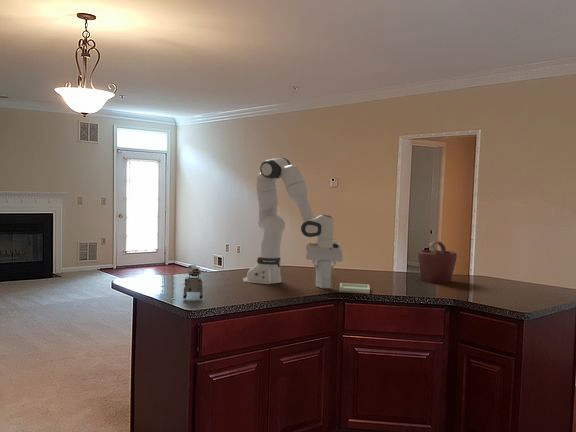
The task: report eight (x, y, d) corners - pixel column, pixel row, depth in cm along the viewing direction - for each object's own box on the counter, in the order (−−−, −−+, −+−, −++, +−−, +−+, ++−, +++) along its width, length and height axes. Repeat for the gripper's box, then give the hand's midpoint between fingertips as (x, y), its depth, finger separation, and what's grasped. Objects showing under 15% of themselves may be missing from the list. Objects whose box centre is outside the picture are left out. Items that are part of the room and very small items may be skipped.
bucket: (439, 286, 311) (441, 243, 310) (407, 280, 328) (409, 240, 327) (461, 282, 327) (463, 242, 326) (430, 277, 344) (432, 239, 343)
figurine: (203, 295, 261) (204, 264, 260) (201, 299, 249) (202, 268, 249) (185, 294, 260) (185, 264, 259) (182, 299, 249) (183, 267, 248)
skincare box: (330, 288, 291) (332, 261, 290) (320, 288, 288) (322, 261, 288) (323, 286, 298) (325, 259, 298) (314, 285, 296) (316, 259, 296)
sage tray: (339, 291, 282) (339, 287, 281) (340, 286, 297) (340, 282, 297) (369, 293, 280) (369, 289, 279) (368, 288, 295) (369, 284, 295)
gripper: (306, 243, 291) (304, 268, 291) (343, 245, 289) (341, 270, 289) (306, 242, 297) (305, 266, 298) (343, 244, 295) (342, 269, 295)
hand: (323, 268), depth 293 cm, fingers open, 8 cm apart
